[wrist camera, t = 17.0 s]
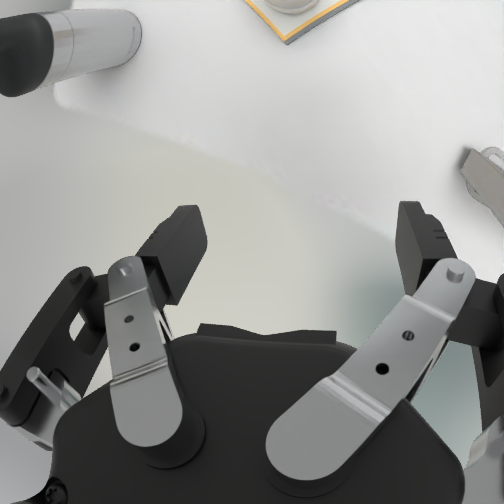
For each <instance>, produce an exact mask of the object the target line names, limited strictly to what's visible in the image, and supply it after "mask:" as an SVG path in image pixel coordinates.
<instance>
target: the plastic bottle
mask: <svg viewBox="0 0 504 504" xmlns="http://www.w3.org/2000/svg"><path fill="white" fill-rule="evenodd" d="M264 2H265V3H266V4H267V5H268V6H270V7H271V8H273V9H275V10H277V11H279V12H283V13H288V14H296V13H302V12H305V11H307V10H309V9H311V8H312V7H313V6H314V5H315V4H316V3H317V2H318V0H264Z"/></svg>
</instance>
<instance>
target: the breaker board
mask: <svg viewBox="0 0 504 504" xmlns="http://www.w3.org/2000/svg"><path fill="white" fill-rule="evenodd" d="M245 1H246V2H247V3H248V4H249V5H250V6H251V7H252V8H253V9H254V10H255V11H256V12H257V13H258V14H259V15H260V16H261V18H262V19H263V20H264V21H265V22H266V23H267V24H268V25H269V26H270V27H271V28H272V29H273V30H274V31H275V33H276V34H277V35H278V36H279V37H280V38H281V39H282V40H283V41H284V42H285V44H286V45H288V44H289V43H291V42H292V41H294V40H295V39H297V38H298V37H300V36H301V35H303V34H304V33H306V32H307V31H309V30H310V29H312V28H314V27H315V26H317V25H318V24H320V23H321V22H323V21H325V20H326V19H328V18H330V17H331V16H333V15H335V14H336V13H338V12H340V11H341V10H343V9H345V8H347V7H348V6H350V5H352V4H354V3H355V2H357V1H359V0H318V2H317V3H316V4H315V5H314V6H313V7H312V8H311V9H309V10H307V11H305V12H302V13H296V14H288V13H283V12H279V11H277V10H275V9H273V8H271V7H270V6H268V5H267V4H266V3H265V2H264V0H245Z"/></svg>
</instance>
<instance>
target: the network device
mask: <svg viewBox="0 0 504 504" xmlns="http://www.w3.org/2000/svg"><path fill="white" fill-rule="evenodd" d="M491 154H497V155H498V156H500V157H501V158H502V159H503V160H504V152H503V151H502V150H500V149H499V148H497V147H488V148H486V149H484V150H483V151H482V152H481V153H479V152H477V151H476V150H474V149H473V148H472V150H471V152H470V154H469V156H468V157H467V159H466V161H465V163H464V165H463V167H462V169H461V170H460V172H461V174H462V175H463V176H464V177H465V178H466V179H467V189H468V191H469V193H470V194H471V196H472V197H473V198H474V199H476V200H477V201H479V202H481V203H482V204H484V205H485V206H487V207H488V208H490V209H491V211H492V212H493V213H494V215H495V216H496V217H497V219H498V220H499V222H500V223H501V224H502V226H503V227H504V170H502V169H501V168H500V167H498V166H497V165H496V164H494V163H493V162H492V161H490V160H489V159H488V157H489V156H490V155H491ZM474 189H475V190H476V191H477V192H476V191H475V190H474Z"/></svg>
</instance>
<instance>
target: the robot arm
mask: <svg viewBox="0 0 504 504" xmlns="http://www.w3.org/2000/svg"><path fill="white" fill-rule="evenodd" d="M140 41H141V27H140V23H139V21H138V19H137V18H136V17H135V16H134V15H133V14H132V13H131V12H129V11H126V10H116V9H74V10H57V11H46V12H37V13H30V14H23V15H17V16H13V17H7V18H1V19H0V93H1V94H2V95H4V96H7V97H17V96H20V95H23V94H26V93H28V92H31V91H33V90H36V89H38V88H41V87H44V86H47V85H50V84H53V83H56V82H59V81H62V80H65V79H69V78H72V77H75V76H79V75H82V74H86V73H90V72H94V71H98V70H102V69H106V68H110V67H115V66H119V65H122V64H124V63H125V62H127V61H128V60H129V59H131V58H132V57H133V55H134V54H135V53H136V51H137V49H138V47H139V44H140ZM395 244H396V253H397V257H398V262H399V266H400V270H401V275H402V279H403V284H404V289H405V293H406V295H405V296H404V297H403V298H402V299H401V300H400V301H399V303H398V304H397V305H396V306H395V307H394V309H393V310H392V311H391V312H390V313H389V315H388V316H387V317H386V318H385V319H384V320H383V322H382V323H381V324H380V325H379V326H378V327H377V329H376V330H375V331H374V332H373V333H372V334H371V335H370V336H369V338H368V339H367V340H366V341H365V342H364V343H363V344H362V345H361V346H360V347H359V349H356V348H354V347H352V346H350V345H347V344H344V343H341V342H337V341H336V331H320V330H298V331H291V332H285V333H278V334H271V335H260V334H257V333H253V332H250V331H247V330H243V329H240V328H237V327H233V326H227V325H215V324H204V323H201V324H200V326H199V328H198V331H197V333H193V334H189V335H185V336H181V337H178V338H176V339H174V336H173V333H172V330H171V328H170V325H169V322H168V320H167V316H166V313H165V311H164V309H163V308H164V306H165V304H166V305H178V303H179V301H180V299H181V297H182V295H183V293H184V292H185V290H186V288H187V286H188V284H189V282H190V280H191V278H192V276H193V274H194V272H195V270H196V268H197V267H198V265H199V263H200V261H201V259H202V257H203V255H204V253H205V252H206V249H207V236H206V232H205V228H204V225H203V221H202V217H201V213H200V210H199V207H198V206H197V205H184V206H178V208H177V209H176V210H175V211H174V213H173V214H172V215H171V216H170V217H169V218H167V219H166V220H165V221H163V222H162V223H160V224H159V225H158V226H157V228H156V229H155V230H154V233H152V234H151V235H150V237H149V239H147V241H146V242H145V243H144V244H143V246H142V247H141V248H140V249H139V251H138V252H137V254H136V255H135V256H128V257H125V258H122V259H120V260H118V261H117V262H115V263H114V264H113V265H112V266H111V267H110V268H109V270H108V274H104V275H99V276H94V275H93V273H92V271H91V269H90V268H89V267H87V266H83V267H79V268H76V269H74V270H72V271H71V272H69V273H68V274H67V275H66V276H65V277H64V279H63V280H62V281H61V282H60V284H59V285H58V286H57V288H56V289H55V291H54V292H53V293H52V294H51V296H50V297H49V298H48V300H47V301H46V303H45V304H44V305H43V307H42V308H41V310H40V311H39V312H38V314H37V315H36V317H35V318H34V319H33V321H32V322H31V324H30V325H29V327H28V328H27V330H26V331H25V333H24V334H23V336H22V337H21V339H20V341H19V342H18V344H17V345H16V347H15V348H14V350H13V351H12V353H11V355H10V356H9V358H8V359H7V361H6V363H5V364H4V366H3V368H2V369H1V371H0V417H1V418H2V419H3V420H4V421H6V423H7V424H8V425H9V426H10V427H12V428H13V429H14V430H16V431H17V432H18V433H20V434H21V435H22V436H24V437H25V438H27V439H28V440H30V441H32V442H34V443H35V444H37V445H39V446H40V447H41V448H43V449H45V450H47V451H53V453H52V464H51V470H50V475H49V479H48V481H47V483H46V485H45V487H44V488H43V490H41V491H40V492H39V493H38V494H36V495H35V496H33V497H31V498H29V499H27V500H24V501H19V502H15V503H12V504H504V274H502V275H501V276H500V277H499V279H498V282H497V284H495V283H491V282H487V281H483V280H480V279H477V278H475V277H476V276H475V272H474V270H473V269H472V268H471V266H469V265H468V264H467V263H465V262H464V261H462V260H459V259H458V258H457V256H456V253H455V251H454V249H453V247H452V245H451V243H450V241H449V239H448V236H447V234H446V232H444V228H443V226H442V224H441V222H440V221H439V220H437V219H436V218H435V217H434V216H433V215H430V214H425V213H424V210H423V208H422V206H421V204H420V202H418V201H400V203H399V210H398V220H397V229H396V240H395ZM78 312H79V314H80V315H81V317H82V318H83V320H84V321H85V324H84V326H83V327H82V329H81V331H80V332H79V334H78V336H77V337H76V339H75V341H73V339H72V338H71V336H70V333H69V328H70V325H71V323H72V321H73V320H74V318H75V317H76V315H77V314H78ZM450 340H451V341H455V342H459V343H463V344H467V345H471V347H472V353H473V358H474V364H475V369H476V376H477V383H478V391H479V398H480V408H481V419H482V433H481V434H480V435H479V436H478V437H477V438H476V439H475V440H474V442H473V443H472V446H471V449H470V454H469V460H468V463H467V465H466V467H465V468H464V470H463V468H462V466H461V463H460V461H459V460H458V458H457V457H456V455H455V454H454V453H453V452H452V451H451V450H450V448H449V447H448V446H447V445H446V444H445V443H444V441H443V440H442V439H441V438H440V437H439V436H438V434H437V433H436V432H435V431H434V430H433V429H432V428H431V427H430V425H429V424H428V423H427V422H426V421H425V419H424V418H423V417H422V416H421V415H420V414H419V413H418V412H417V410H416V409H415V408H414V407H413V406H412V405H411V403H412V401H413V400H414V398H415V397H416V395H417V394H418V392H419V391H420V389H421V388H422V386H423V384H424V383H425V381H426V379H427V378H428V376H429V375H430V373H431V372H432V370H433V368H434V367H435V365H436V364H437V362H438V360H439V359H440V357H441V356H442V354H443V352H444V350H445V349H446V347H447V345H448V343H449V342H450ZM107 347H109V355H110V362H111V369H112V375H113V379H112V380H111V381H109V382H108V383H106V384H105V385H103V386H102V387H100V388H98V389H97V390H95V391H94V392H92V393H91V394H89V395H88V396H86V397H85V398H83V396H84V394H85V392H86V390H87V388H88V385H89V384H90V381H91V379H92V377H93V375H94V373H95V371H96V369H97V367H98V365H99V363H100V361H101V359H102V357H103V355H104V353H105V351H106V350H107ZM82 398H83V399H82Z"/></svg>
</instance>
